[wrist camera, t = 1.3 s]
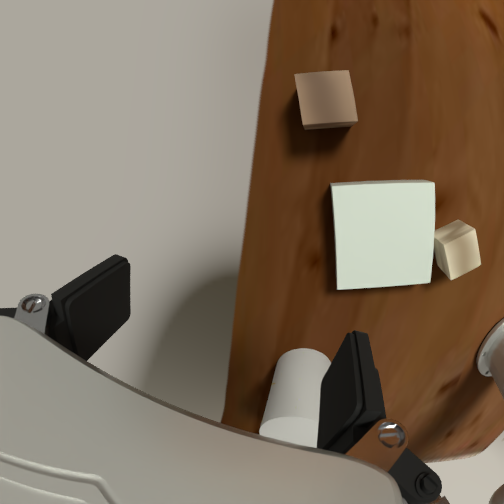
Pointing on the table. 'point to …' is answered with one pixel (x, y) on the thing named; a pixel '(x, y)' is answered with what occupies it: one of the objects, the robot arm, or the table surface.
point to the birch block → (456, 249)
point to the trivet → (383, 232)
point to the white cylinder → (295, 398)
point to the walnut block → (326, 99)
